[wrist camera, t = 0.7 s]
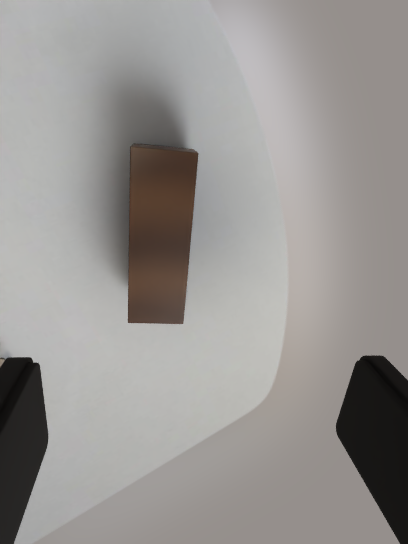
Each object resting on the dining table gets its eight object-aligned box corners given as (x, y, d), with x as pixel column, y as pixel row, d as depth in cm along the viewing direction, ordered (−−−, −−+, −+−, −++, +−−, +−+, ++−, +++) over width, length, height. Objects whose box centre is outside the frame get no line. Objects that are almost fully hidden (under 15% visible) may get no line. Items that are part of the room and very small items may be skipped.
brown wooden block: (134, 142, 23) (130, 146, 20) (192, 148, 24) (198, 152, 20) (131, 297, 28) (127, 323, 24) (180, 298, 29) (183, 324, 25)
